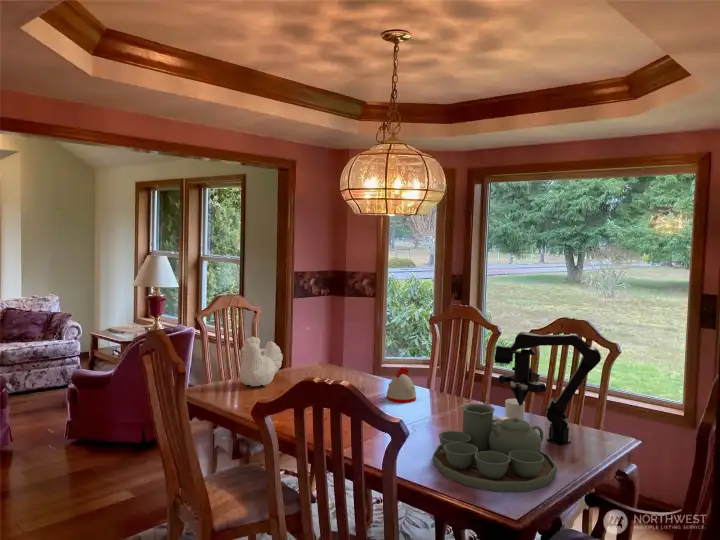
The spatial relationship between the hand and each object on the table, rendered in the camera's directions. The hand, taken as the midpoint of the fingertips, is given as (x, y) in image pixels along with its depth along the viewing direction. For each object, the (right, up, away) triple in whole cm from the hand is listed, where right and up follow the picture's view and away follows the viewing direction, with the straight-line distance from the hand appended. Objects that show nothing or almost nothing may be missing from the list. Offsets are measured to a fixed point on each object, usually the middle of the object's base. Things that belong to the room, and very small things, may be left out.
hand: (520, 405), depth 230 cm
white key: (-6, -8, 0) cm, 10 cm away
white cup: (+1, -12, +14) cm, 19 cm away
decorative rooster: (-111, -6, +69) cm, 131 cm away
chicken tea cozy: (-43, -9, +50) cm, 66 cm away
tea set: (-17, -14, -31) cm, 38 cm away
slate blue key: (-9, -9, +5) cm, 14 cm away
